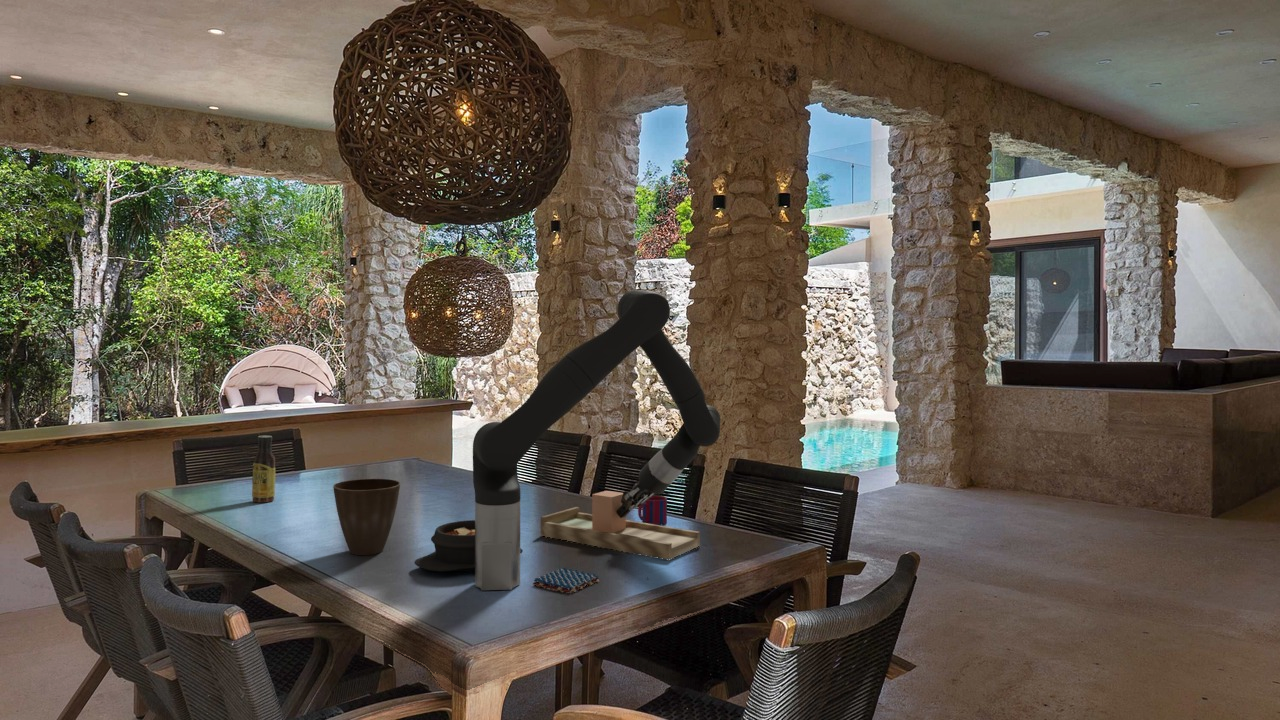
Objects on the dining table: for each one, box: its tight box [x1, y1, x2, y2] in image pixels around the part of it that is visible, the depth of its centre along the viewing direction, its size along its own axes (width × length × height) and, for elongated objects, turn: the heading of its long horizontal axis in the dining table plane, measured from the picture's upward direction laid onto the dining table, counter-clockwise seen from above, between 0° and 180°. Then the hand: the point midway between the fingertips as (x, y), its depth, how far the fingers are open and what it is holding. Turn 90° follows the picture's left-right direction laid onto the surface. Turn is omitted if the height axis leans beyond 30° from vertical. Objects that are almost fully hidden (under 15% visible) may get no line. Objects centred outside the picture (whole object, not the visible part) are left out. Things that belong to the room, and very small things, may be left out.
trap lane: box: [540, 506, 701, 561], centre depth 204 cm, size 38×14×5 cm, turn 56°
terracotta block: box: [591, 490, 627, 533], centre depth 206 cm, size 6×6×9 cm
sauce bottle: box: [251, 435, 276, 504], centre depth 248 cm, size 7×6×20 cm
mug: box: [637, 495, 668, 526], centre depth 223 cm, size 7×10×7 cm
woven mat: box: [532, 567, 600, 593], centre depth 170 cm, size 10×11×2 cm
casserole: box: [414, 519, 524, 573], centre depth 183 cm, size 25×19×8 cm
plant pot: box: [332, 478, 401, 556], centre depth 193 cm, size 15×15×16 cm
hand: (619, 514), depth 204 cm, fingers closed
